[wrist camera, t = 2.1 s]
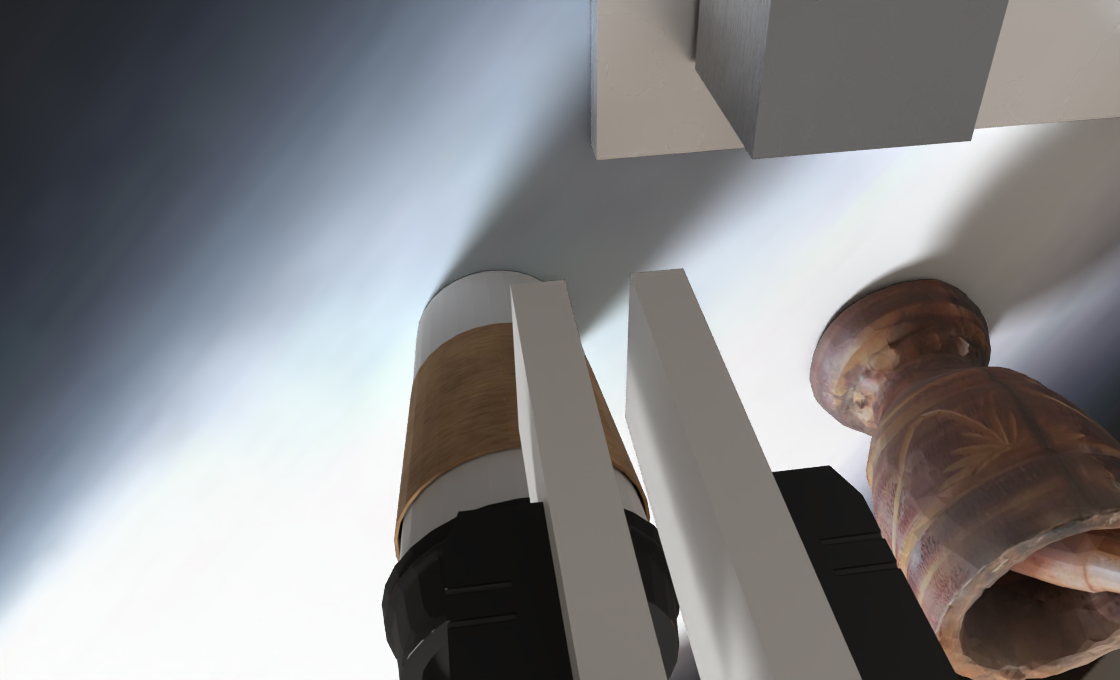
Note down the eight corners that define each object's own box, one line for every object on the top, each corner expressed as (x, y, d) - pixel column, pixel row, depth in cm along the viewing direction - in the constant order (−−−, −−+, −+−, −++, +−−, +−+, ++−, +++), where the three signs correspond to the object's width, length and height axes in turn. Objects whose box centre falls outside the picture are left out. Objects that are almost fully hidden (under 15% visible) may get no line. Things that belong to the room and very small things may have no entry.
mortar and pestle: (910, 170, 35) (1331, 640, 19) (1088, 226, 38) (1581, 677, 22) (761, 403, 41) (990, 901, 26) (924, 437, 44) (1219, 904, 28)
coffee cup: (541, 200, 34) (624, 529, 22) (637, 359, 39) (746, 694, 27) (337, 305, 35) (313, 666, 23) (455, 444, 40) (484, 798, 28)
